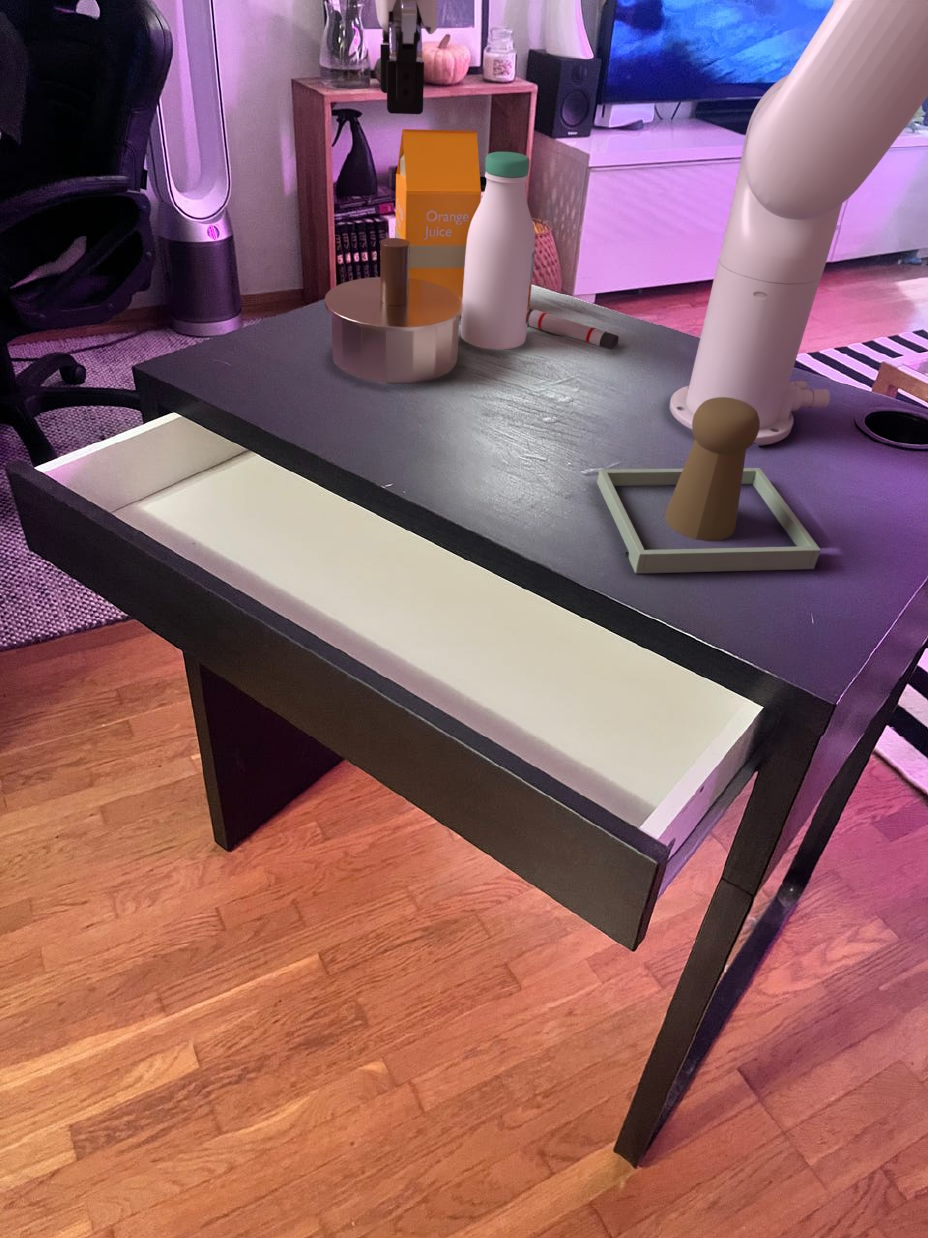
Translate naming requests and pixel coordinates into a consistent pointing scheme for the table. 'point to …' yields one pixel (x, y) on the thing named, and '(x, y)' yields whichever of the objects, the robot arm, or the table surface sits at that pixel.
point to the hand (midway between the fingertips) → (400, 102)
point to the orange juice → (437, 202)
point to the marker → (571, 329)
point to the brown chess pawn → (713, 470)
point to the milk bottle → (499, 258)
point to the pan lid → (394, 297)
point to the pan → (394, 352)
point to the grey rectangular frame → (713, 557)
